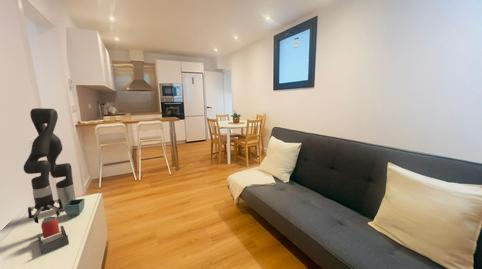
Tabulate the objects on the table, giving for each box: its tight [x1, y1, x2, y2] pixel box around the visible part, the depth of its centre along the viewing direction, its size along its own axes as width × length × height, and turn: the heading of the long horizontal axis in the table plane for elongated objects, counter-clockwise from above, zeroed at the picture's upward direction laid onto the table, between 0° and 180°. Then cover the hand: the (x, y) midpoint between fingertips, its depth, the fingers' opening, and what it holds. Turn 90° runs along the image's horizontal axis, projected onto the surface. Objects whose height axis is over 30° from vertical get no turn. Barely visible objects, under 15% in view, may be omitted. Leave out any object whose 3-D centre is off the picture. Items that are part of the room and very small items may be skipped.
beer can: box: [41, 216, 61, 239], centre depth 111 cm, size 7×7×12 cm
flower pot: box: [63, 198, 86, 217], centre depth 135 cm, size 9×9×9 cm
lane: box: [37, 225, 70, 256], centre depth 109 cm, size 18×11×5 cm, turn 49°
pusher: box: [41, 231, 63, 245], centre depth 108 cm, size 1×8×4 cm, turn 139°
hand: (47, 219), depth 117 cm, fingers open, 8 cm apart
